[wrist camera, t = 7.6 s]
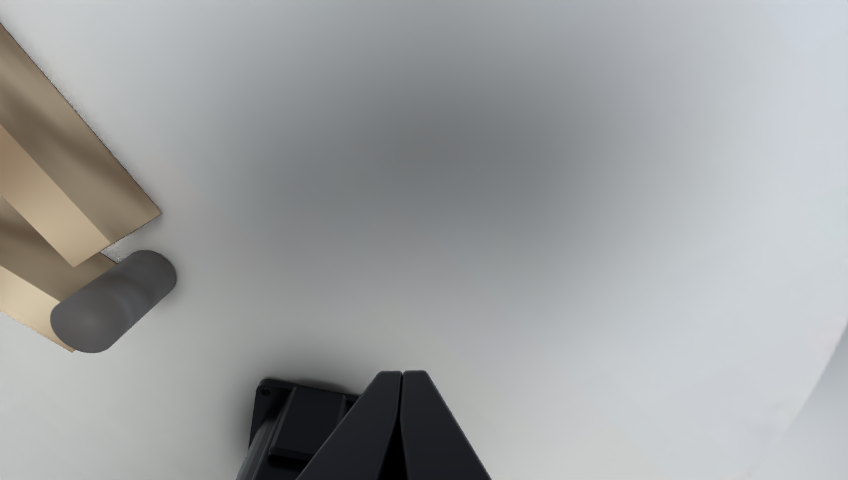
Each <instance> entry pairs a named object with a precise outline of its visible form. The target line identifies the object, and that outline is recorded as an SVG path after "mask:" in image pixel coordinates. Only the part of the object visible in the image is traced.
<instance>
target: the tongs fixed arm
mask: <svg viewBox="0 0 848 480" xmlns="http://www.w3.org/2000/svg"><path fill="white" fill-rule="evenodd" d="M175 284H176V273H175V270H174V268H173V266H172V265H171V263H170V262H169V261H168V260H167V259H166V258H164V257H163V256H161V255H160V254H158V253H155V252H152V251H137V252H135V253H133V254H131V255H130V256H128V257H127V258H125V259H124V260H122V261H121V262H119V263H118V264H116V263H115V262H113V261H112V260H110V259H109V258H107V257H106V256H104V255H103V254H101V253H100V252H99V253H97V254H95V255H94V256H92V257H90V258H89V259H87V260H85V261H84V262H82V263H80V264H79V265H77V266H75V267H74V268H73V267H72V266H71V265H70V264H69V263H68V262H67V261H66V260H65V259H64V258H63V257H62V256H61V255H60V254H59V253H58V252H57V251H56V250H55V249H54V248H53V247H52V246H51V245H50V244H49V243H48V241H47V240H46V239H45V238H44V237H43V236H42V235H41V234H40V233H39V232H38V231H37V230H36V229H35V228H34V227H33V226H32V225H31V224H30V223H29V222H28V221H27V220H26V219H25V218H24V217H23V216H22V215H21V214H20V213H19V212H18V211H17V210H16V209H15V208H14V207H13V206H12V205H11V204H10V203H9V202H8V201H7V200H6V199H5V198H4V197H3V196H2V195H1V194H0V311H1V312H3V313H5V314H7V315H8V316H10V317H12V318H13V319H15V320H17V321H19V322H20V323H22V324H24V325H26V326H27V327H29V328H31V329H32V330H34V331H36V332H38V333H39V334H41V335H43V336H44V337H46V338H48V339H50V340H51V341H53V342H55V343H56V344H58V345H60V346H62V347H63V348H65V349H67V350H68V351H70V352H73V351H75V350H78V351H81V352H85V353H98V352H102V351H105V350H106V349H108V348H109V347H111V346H112V345H113V344H114V343H115V342H116V341H117V340H118V339H119V338H120V337H121V336H122V335H123V334H125V333H126V332H127V331H128V330H129V329H130V328H131V327H132V326H133V325H134V324H135V323H136V322H138V321H139V320H140V319H141V318H142V317H143V316H144V315H145V314H146V313H147V312H148V311H149V310H150V309H152V308H153V307H154V306H155V305H156V304H157V303H158V302H159V301H160V300H161V299H162V298H163V297H165V296H166V295H167V294H168V293H169V292H170V291H171V290H172V289H173V288H174V286H175Z"/></svg>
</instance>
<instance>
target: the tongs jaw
mask: <svg viewBox="0 0 848 480" xmlns="http://www.w3.org/2000/svg"><path fill="white" fill-rule="evenodd" d="M0 194H1V195H2V196H3V197H4V198H5V199H6V200H7V201H8V202H9V203H10V204H11V205H12V206H13V207H14V208H15V209H16V210H17V211H18V212H19V213H20V214H21V215H22V216H23V217H24V218H25V219H26V220H27V221H28V222H29V223H30V224H31V225H32V226H33V227H34V228H35V229H36V230H37V231H38V232H39V233H40V234H41V235H42V236H43V237H44V238H45V239H46V240H47V241H48V243H49V244H50V245H51V246H52V247H53V248H54V249H55V250H56V251H57V252H58V253H59V254H60V255H61V256H62V257H63V258H64V259H65V260H66V261H67V262H68V263H69V264H70V265H71V266H72V267H73V268H74V267H75V266H77V265H79V264H80V263H82V262H84V261H85V260H87V259H89V258H90V257H92V256H94V255H95V254H97V253H99V252H100V251H102V250H104V249H105V248H107V247H109V246H110V245H112V244H114V243H115V242H117V241H118V240H120V239H122V238H123V237H125V236H127V235H128V234H130V233H132V232H133V231H135V230H136V229H138V228H140V227H141V226H143V225H144V224H146V223H147V222H149V221H151V220H152V219H154V218H155V217H157V216H159V215H160V214H162V212H161V211H160V210H159V209H158V208H157V207H156V205H155V204H154V203H153V202H152V201H151V200H150V198H149V197H148V196H147V195H146V194H145V192H144V191H143V190H142V189H141V188H140V187H139V185H138V184H137V183H136V182H135V181H134V180H133V178H132V177H131V176H130V175H129V174H128V173H127V171H126V170H125V169H124V168H123V167H122V166H121V164H120V163H119V162H118V161H117V160H116V159H115V157H114V156H113V155H112V154H111V153H110V152H109V150H108V149H107V148H106V147H105V146H104V144H103V143H102V142H101V141H100V140H99V139H98V137H97V136H96V135H95V134H94V133H93V132H92V130H91V129H90V128H89V127H88V126H87V125H86V123H85V122H84V121H83V120H82V119H81V118H80V116H79V115H78V114H77V113H76V112H75V111H74V109H73V108H72V107H71V106H70V105H69V103H68V102H67V101H66V100H65V99H64V98H63V96H62V95H61V94H60V93H59V92H58V91H57V89H56V88H55V87H54V86H53V85H52V84H51V82H50V81H49V80H48V79H47V78H46V77H45V75H44V74H43V73H42V72H41V71H40V70H39V68H38V67H37V66H36V65H35V64H34V63H33V61H32V60H31V59H30V58H29V57H28V55H27V54H26V53H25V52H24V51H23V50H22V48H21V47H20V46H19V45H18V44H17V43H16V41H15V40H14V39H13V38H12V37H11V36H10V34H9V33H8V32H7V31H6V30H5V29H4V27H3V26H2V25H1V24H0Z"/></svg>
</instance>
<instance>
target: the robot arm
mask: <svg viewBox="0 0 848 480" xmlns="http://www.w3.org/2000/svg"><path fill="white" fill-rule="evenodd" d="M264 388H267V389H269V390H270V391H268V390H265V389H264ZM236 480H492V479H491V478H490V476H489V474H488V473H487V471H486V469H485V468H484V466H483V464H482V463H481V461H480V459H479V458H478V456H477V454H476V453H475V451H474V449H473V448H472V446H471V444H470V443H469V441H468V439H467V438H466V436H465V434H464V433H463V431H462V429H461V428H460V426H459V424H458V423H457V421H456V420H455V418H454V416H453V415H452V413H451V411H450V410H449V408H448V406H447V405H446V403H445V401H444V400H443V398H442V396H441V395H440V393H439V391H438V390H437V388H436V386H435V385H434V383H433V381H432V380H431V378H430V376H429V375H428V373H427V372H426V371H424V370H412V371H405V372H404V373H403V374H402V372H401V371H381V372H379V373H378V374H377V375H376V377H375V378H374V379H373V381H372V382H371V383H370V384H369V386H368V387H367V388H366V390H365V391H364V392H363V394H362V395H361V396H360V397H357V396H352V395H347V394H342V393H337V392H331V391H326V390H321V389H316V388H311V387H306V386H300V385H295V384H290V383H285V382H280V381H275V380H269V379H265V380H262V381H261V382H260V384H259V386H258V388H257V390H256V396H255V404H254V411H253V419H252V426H251V434H250V441H249V449H248V453H247V455H246V457H245V460H244V462H243V464H242V466H241V469H240V471H239V473H238V475H237V478H236Z"/></svg>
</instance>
